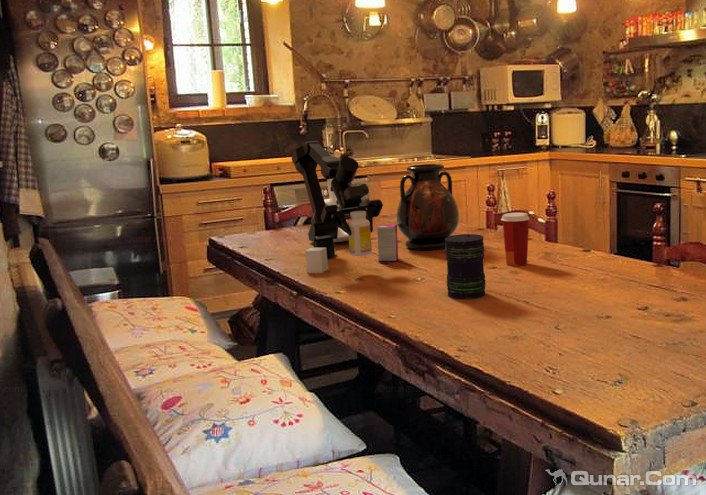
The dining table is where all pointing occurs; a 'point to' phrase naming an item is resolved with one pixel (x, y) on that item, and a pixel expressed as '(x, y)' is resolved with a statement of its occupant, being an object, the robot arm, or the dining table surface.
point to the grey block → (316, 260)
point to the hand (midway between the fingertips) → (361, 233)
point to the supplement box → (387, 243)
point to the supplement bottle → (359, 234)
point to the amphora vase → (427, 208)
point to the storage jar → (465, 266)
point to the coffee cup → (516, 238)
